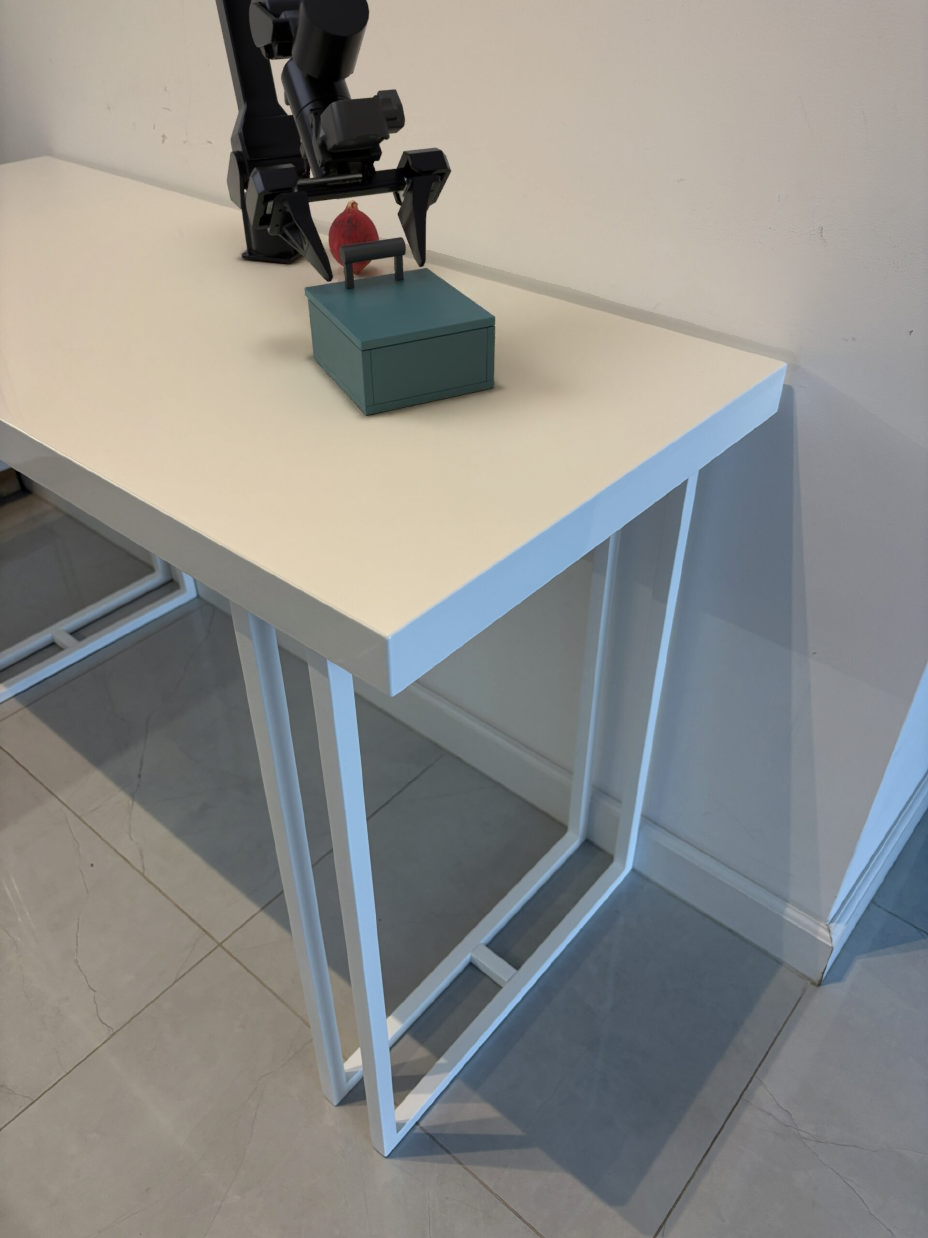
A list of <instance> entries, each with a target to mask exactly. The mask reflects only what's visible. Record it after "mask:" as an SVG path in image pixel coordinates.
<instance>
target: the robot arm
mask: <svg viewBox="0 0 928 1238" xmlns="http://www.w3.org/2000/svg"><path fill="white" fill-rule="evenodd" d="M215 5H216V11H217V16H218V20H219V24H220V29H221V34H222V39H223V44H224V48H225V53H226V59H227V63H228V67H229V72H230V73H229V74H230V76H231V82H232V86H233V91H234V96H235V102H236V106H237V110H238V111H237V115H236V119H235V122H234V126H233V129H232V133H231V136H230V140H229V141H230V145H231V146H230V147H231V152H230V154H229V160H228V166H227V167H228V168H227V175H226V185H227V189H228V194H229V199H230V201H231V202H232V203H233V204H234V205H235V206H236V207H237V208H239V209H240V210H241V217H242V225H243V231H244V237H245V243H246V244H245V245H246V250H245V251H243V252H242V253H241V254H240V255H241V259H243V260H253V261H254V260H255V261H263V262H275V263H285V264H288V263H292V262H293V261H294V260H296V259H297V258H298V257H299V256H302V257H303V258H304V259H305V260H306V261H307V262H308V263H309V264H310V266H311V267H312V268H314V270H315V271H316V272H317V274H319V275H320V276H321V277H322V278H323V279H324V280H325V281H326V282H327V283H332V281H333V279H334V274H333V270H332V266H331V263H330V259H329V257H328V254H327V252H326V249H325V247H324V244H323V241H322V239H321V236H320V235H319V231H318V229H317V226H316V223H315V221H314V219H313V217H312V216H313V215H312V212H311V206H310V203H314V202H316V203H317V202H324V201H331V200H344V199H351V198H359V197H360V198H361V197H367V196H368V197H369V196H375V195H383V194H391V193H392V195H393V198H394V201H395V203H396V204H397V205H398V206H400V207H399V209H398V210H397V217H398V220H399V222H400V225H401V228H402V230H403V233H404V236H405V238H406V241H407V244H408V247H409V249H410V252H411V254H412V257H413V259H414V260H415V263H416V264H417V266H418V267H419V268H422V267H423V268H424V266H425V264H426V262H427V214H428V211H429V208H430V207H431V206H433V205H434V204H436V203H437V201H438V199H439V197H440V195H441V194H442V191H443V189H444V188H445V185H446V183H447V181H448V179H449V177H450V175H451V173H452V169H451V166H450V163H449V160H448V158H447V157H448V156H447V155H446V154H445V152H444V151H443V150H442V149H440V148H438V147H427V148H417V149H410V150H409V149H408V150H403V151H402V153H401V157H400V159H399V161H398V163H397V166H396V168H388V169H379V170H376V167H375V162H379V161H380V160H381V158H382V155H383V150H382V147H381V143H383V141H389V139H390V138H391V135H392V134H393V135H394V134H397V133H399V132H400V131H401V130H402V129H403V128H404V127H405V125H406V116H405V110H404V106H403V103H402V100H401V98H400V96H399V93H398V91H397V89H394V88H393V89H392V88H391V89H383V90H382V89H381V90H378V91H377V92H376V94H374V95H373V96H371V97H360V98H352V96H351V93H350V90H349V87H348V84H347V81H346V79H347V78H349V77H350V76H351V75H352V74H354V72H355V69H356V65H357V62H358V58H359V55H360V51H361V47H362V45H363V41H364V37H365V33H366V30H367V27H368V23H369V19H370V7H369V2H368V1H367V0H215ZM276 60H279V61H280V60H287V61H286V62H285V64H284V66H283V67H282V71H281V74H280V81H281V84H282V87H283V99H284V105H285V106H287V107H289V108H290V112H291V114H288V113H287V111H286V110H285V109H284V108H283V106H282V105H281V104H280V102H279V100H278V95H277V89H276V85H275V80H274V79H275V78H274V74H273V69H272V63H271V61H276ZM390 134H391V135H390ZM311 175H312V177H311Z"/></svg>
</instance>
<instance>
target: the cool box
mask: <svg viewBox="0 0 928 1238" xmlns="http://www.w3.org/2000/svg"><path fill="white" fill-rule="evenodd" d="M307 306H308V315H309V324H310V333H311V334H310V335H311V342H312V343H311V344H312V354H313V359H314V361H316V362H317V364H319V366H320V367H321V369H323V370H324V371H325V372H326V374H328V376H329V377H330V378H331V379H332V380H333V381H334V382H335V383H336V384H337V386H338V387H339V388H340V389H341V390H342V391H343V392H344V393H345V394H346V395H347V397H348V398H349V399H350V400H351V401H352V402H353V403H354V404H355V405H356V406H357V408H359V410H360V411H361V412H362V413H363V414H364V415H365V416H370V415H375V414H380V413H383V412H390V411H393V410H398V409H402V408H407V407H411V406H416V405H420V404H425V403H430V402H431V403H432V402H435V401H439V400H444V399H448V398H453V397H457V396H463V395H467V394H472V393H476V392H481V391H486V390H491V389H494V388H495V364H496V363H495V362H496V361H495V357H496V325H493V326H488V327H483V328H478V329H472V330H467V331H462V332H456V333H451V334H446V335H441V336H435V337H430V338H425V339H420V340H414V341H409V342H404V343H398V344H393V345H388V346H383V347H377V348H372V349H367V350H361V349H360V348H358V347H357V346H356V345H355V344H354V343H353V342H352V341H351V340H350V339H349V338H348V337H347V336H346V335H345V334H344V333H343V332H342V331H341V330H340V329H339V328H338V327H337V326H336V325H335V324H334V323H333V322H332V321H331V320H330V319H329V318H328V317H327V316H326V315H325V314H324V313H323V312H322V311H321V310H319V309H318V308H317V307H316V306H315V305H314V304H313V303H312V302H311V301H310V300H309V299H308V298H307Z"/></svg>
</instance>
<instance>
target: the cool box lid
mask: <svg viewBox="0 0 928 1238" xmlns="http://www.w3.org/2000/svg"><path fill="white" fill-rule="evenodd" d="M406 252H407V246H406V241H405V239H404V238H403V237H402V236H399V237H391V238H385V239H379V240H378V241H371V242H364V243H357V244H350V245H344V246H340V249H339V254H340V259H341V262H342V263H343V264H344V267H343V275H344V276H343V277H344V280H343V281H342V280H341V281H336V282H328V283H324V284H318V285H312V286H305V287H304V288H303V289H304V290H303V291H304V296H305V297H306V298H307V300H308V299H309V300H310V301H311V302H312V303H313V304H314V305H315V306H316V307H317V308H318V309H319V310H321V311H322V312H323V313H324V314H325V315H326V316H327V317H328V318H329V319H330V320H331V321H332V322H333V323H334V324H335V325H336V326H337V327H338V328H339V329H340V330H341V331H342V332H343V333H344V334H345V335H346V336H347V337H348V338H349V339H350V340H351V341H352V342H353V343H354V344H355V345H356V346H357V347H358V348H360V349H361V350H367V349H372V348H377V347H383V346H388V345H393V344H398V343H404V342H409V341H414V340H420V339H425V338H430V337H435V336H441V335H446V334H451V333H456V332H462V331H467V330H472V329H478V328H483V327H488V326H493V325H494V326H496V316H495V315H494V314H492V313H491V312H489V311H488V310H487V309H485V308H484V307H482V306H481V305H479V304H478V303H476V301H474V300H472V299H471V298H470V297H468V296H467V295H465V294H464V293H462V291H460V290H459V289H457V288H456V287H455V286H453V285H452V284H450V283H449V282H447V281H446V280H445V279H443V278H441V277H440V276H439V275H438V274H436V273H435V272H433V271H432V270H431V269H430V268H428V267H423V268H422V267H421V268H417V269H411V270H405V271H404V256H405V255H406V254H407V253H406ZM390 258H393V271H394V272H391V273H385V274H378V275H373V276H366V277H360V278H354V277H355V276H354V273H353V263H358V262H364V261H371V260H372V261H376V260H384V259H390ZM372 261H371V262H372Z"/></svg>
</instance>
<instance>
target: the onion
mask: <svg viewBox="0 0 928 1238" xmlns="http://www.w3.org/2000/svg"><path fill="white" fill-rule="evenodd" d="M358 206H359V203H358V202H357V201H355V200H353V199H352V200H349V201H347V204H346V205H345V208H344V210H342V211H341V212H340V213H339V214H338V215H337V216H336V217H335V218H334V219H333V221H332V223H331V225H330V226H329V231H328V247H329V251H330V253H331V255H332V257H333V259H334V261H336V262H337V263H338V264H339V265H340V266H342V267H343V268H344V264H343V263H342V262H341V259H340V254H339V249H340V246H344V245H350V244H357V243H364V242H371V241H378V240H380V237H379V232H378V230H377V226H376V225H375V223H374V222H373V220H372V219H371V217H369V216H368V215H367V214H366V213H365V212H364V211H362V210H360V209H359V207H358ZM372 261H373V260H371V261H364V262H358V263H353V274H360V273H361V272H362V271H363V270H364V269H365V268H366V267H367V266H369V265H370V263H371V262H372Z"/></svg>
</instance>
